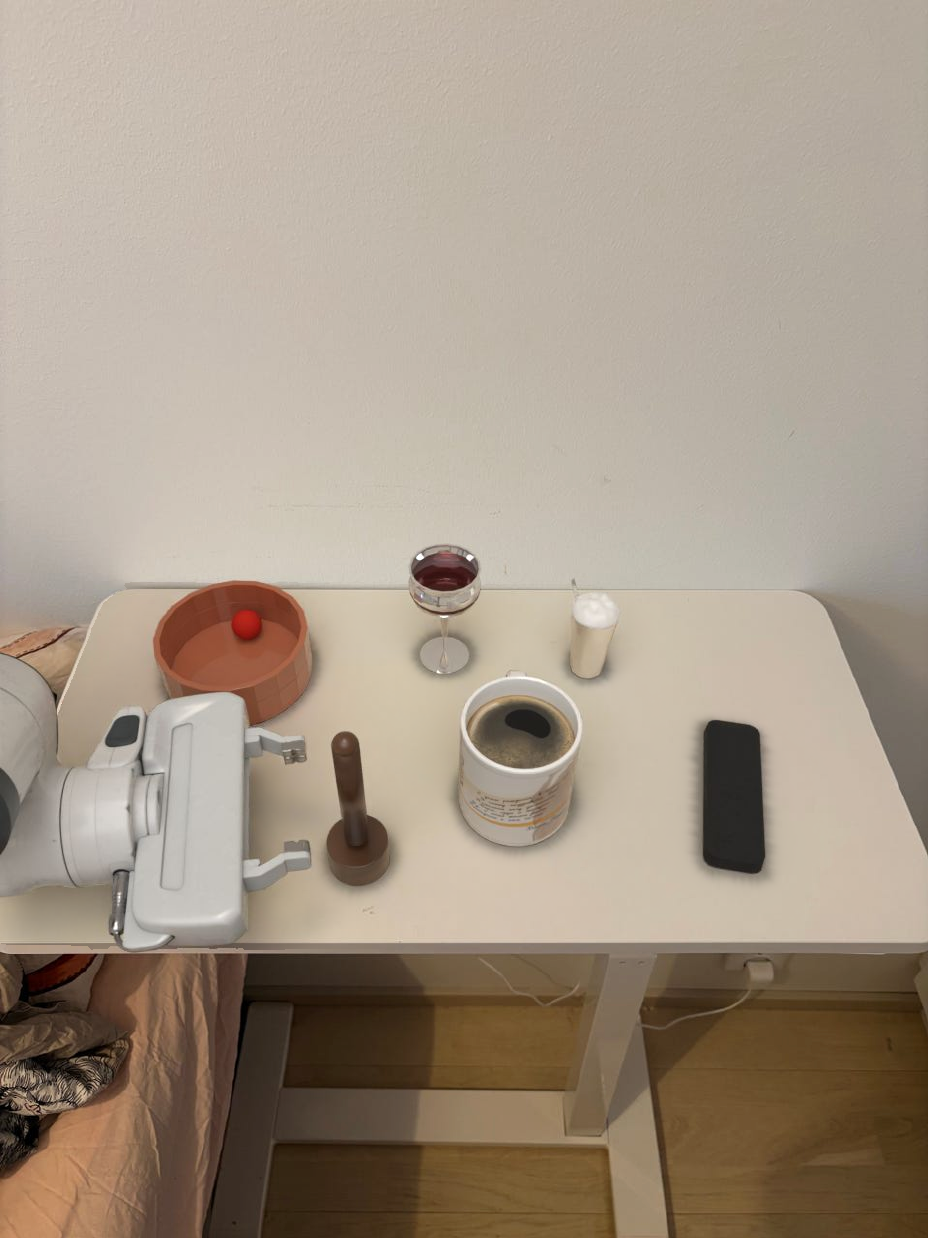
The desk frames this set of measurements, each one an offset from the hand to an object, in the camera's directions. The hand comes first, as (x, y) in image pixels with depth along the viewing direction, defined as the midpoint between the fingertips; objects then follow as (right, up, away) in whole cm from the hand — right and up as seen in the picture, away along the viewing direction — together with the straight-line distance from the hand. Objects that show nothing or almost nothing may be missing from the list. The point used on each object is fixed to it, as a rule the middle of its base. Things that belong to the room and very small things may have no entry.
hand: (308, 798), depth 71 cm
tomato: (-10, +13, +23) cm, 28 cm away
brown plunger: (+3, -6, +7) cm, 10 cm away
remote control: (+36, -2, +12) cm, 38 cm away
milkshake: (+24, +9, +23) cm, 34 cm away
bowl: (-10, +9, +21) cm, 25 cm away
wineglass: (+10, +10, +23) cm, 27 cm away
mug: (+17, -2, +12) cm, 21 cm away
